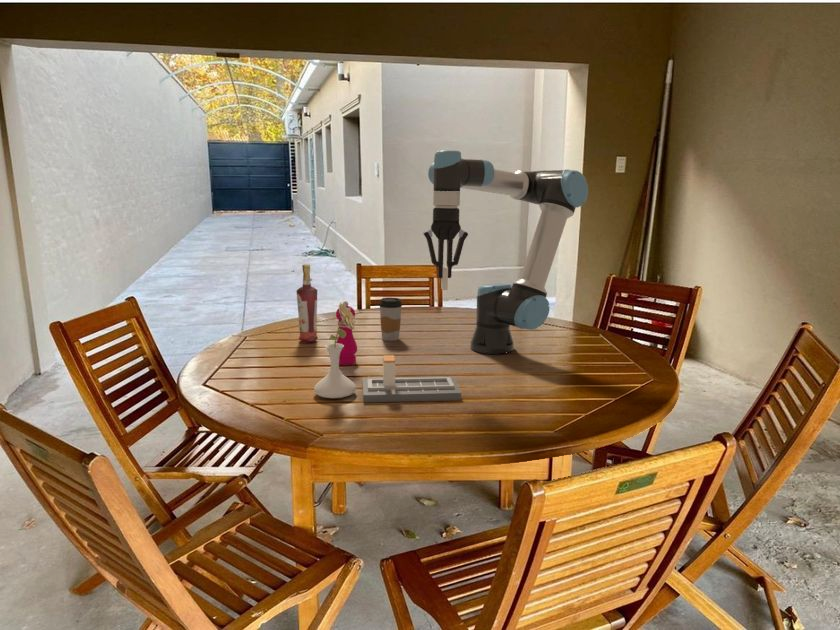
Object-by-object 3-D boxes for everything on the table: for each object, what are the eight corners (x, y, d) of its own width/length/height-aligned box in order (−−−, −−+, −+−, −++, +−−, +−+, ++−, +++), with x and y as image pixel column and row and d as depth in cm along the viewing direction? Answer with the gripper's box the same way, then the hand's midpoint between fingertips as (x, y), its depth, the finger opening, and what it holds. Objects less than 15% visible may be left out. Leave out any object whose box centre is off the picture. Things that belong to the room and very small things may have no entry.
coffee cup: (405, 337, 216) (405, 298, 213) (395, 343, 209) (395, 302, 205) (385, 335, 219) (386, 296, 216) (375, 340, 212) (375, 300, 209)
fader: (393, 381, 160) (393, 355, 159) (395, 387, 156) (395, 360, 154) (383, 381, 160) (383, 355, 158) (383, 387, 155) (383, 360, 154)
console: (452, 382, 167) (452, 373, 167) (461, 399, 154) (461, 390, 153) (362, 384, 164) (362, 375, 164) (363, 402, 151) (363, 392, 150)
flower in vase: (337, 405, 148) (336, 310, 143) (305, 396, 154) (302, 305, 149) (368, 391, 159) (368, 302, 154) (336, 383, 165) (335, 297, 160)
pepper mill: (353, 366, 181) (352, 304, 177) (331, 364, 182) (330, 302, 178) (360, 359, 188) (359, 299, 183) (339, 358, 189) (338, 298, 185)
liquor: (321, 342, 208) (320, 265, 202) (302, 345, 204) (300, 266, 198) (313, 338, 214) (311, 263, 208) (294, 340, 210) (292, 264, 204)
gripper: (466, 206, 167) (463, 286, 172) (422, 206, 166) (420, 287, 171) (471, 207, 160) (468, 291, 165) (425, 207, 159) (423, 291, 164)
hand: (444, 289), depth 168 cm, fingers closed
